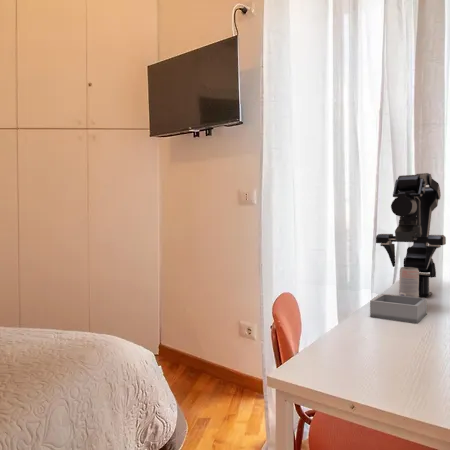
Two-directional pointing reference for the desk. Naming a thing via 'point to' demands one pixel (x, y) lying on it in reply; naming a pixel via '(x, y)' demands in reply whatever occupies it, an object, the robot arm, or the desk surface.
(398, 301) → the crate
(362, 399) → the desk surface
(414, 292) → the energy drink
